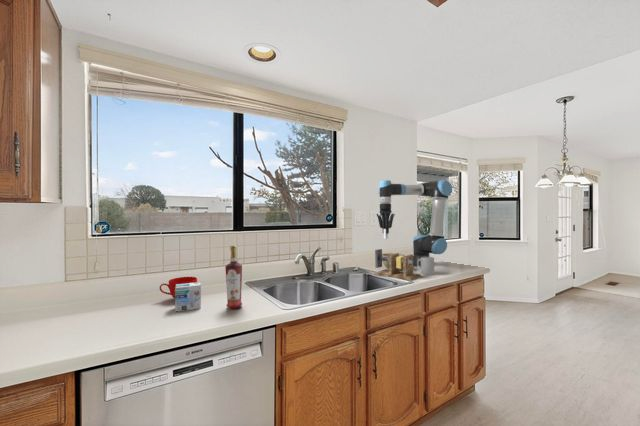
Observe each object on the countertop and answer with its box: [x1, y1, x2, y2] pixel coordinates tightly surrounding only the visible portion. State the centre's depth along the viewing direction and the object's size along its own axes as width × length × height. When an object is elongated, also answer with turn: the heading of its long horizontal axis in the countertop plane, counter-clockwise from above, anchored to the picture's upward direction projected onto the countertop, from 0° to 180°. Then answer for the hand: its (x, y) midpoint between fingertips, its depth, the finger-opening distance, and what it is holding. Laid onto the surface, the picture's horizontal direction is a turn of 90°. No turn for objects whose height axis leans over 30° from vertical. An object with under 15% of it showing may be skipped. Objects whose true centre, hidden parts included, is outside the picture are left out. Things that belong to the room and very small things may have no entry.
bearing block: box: [373, 252, 422, 281], centre depth 195 cm, size 26×14×14 cm, turn 47°
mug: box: [416, 256, 435, 276], centre depth 201 cm, size 12×8×11 cm
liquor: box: [225, 244, 243, 310], centre depth 135 cm, size 7×7×28 cm
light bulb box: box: [174, 281, 202, 313], centre depth 135 cm, size 11×7×11 cm, turn 114°
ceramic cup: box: [159, 276, 198, 300], centre depth 148 cm, size 13×17×10 cm
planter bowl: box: [382, 252, 406, 271], centre depth 215 cm, size 16×16×11 cm
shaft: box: [374, 248, 413, 269], centre depth 197 cm, size 25×6×12 cm, turn 47°
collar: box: [396, 256, 403, 270], centre depth 193 cm, size 3×7×7 cm, turn 137°
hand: (385, 238), depth 200 cm, fingers closed
